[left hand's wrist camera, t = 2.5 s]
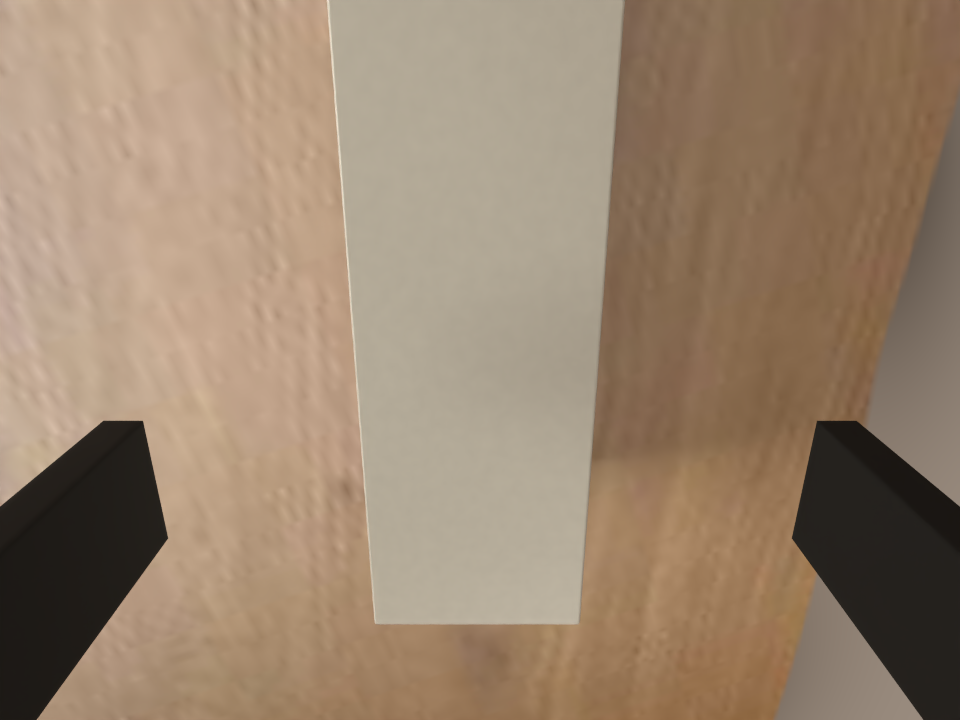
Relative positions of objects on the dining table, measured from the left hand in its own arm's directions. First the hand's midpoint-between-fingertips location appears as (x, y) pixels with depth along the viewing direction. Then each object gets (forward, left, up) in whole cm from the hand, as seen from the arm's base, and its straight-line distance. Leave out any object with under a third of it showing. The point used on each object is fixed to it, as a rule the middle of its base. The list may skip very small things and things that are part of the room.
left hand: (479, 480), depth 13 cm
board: (+18, +4, -12) cm, 21 cm away
